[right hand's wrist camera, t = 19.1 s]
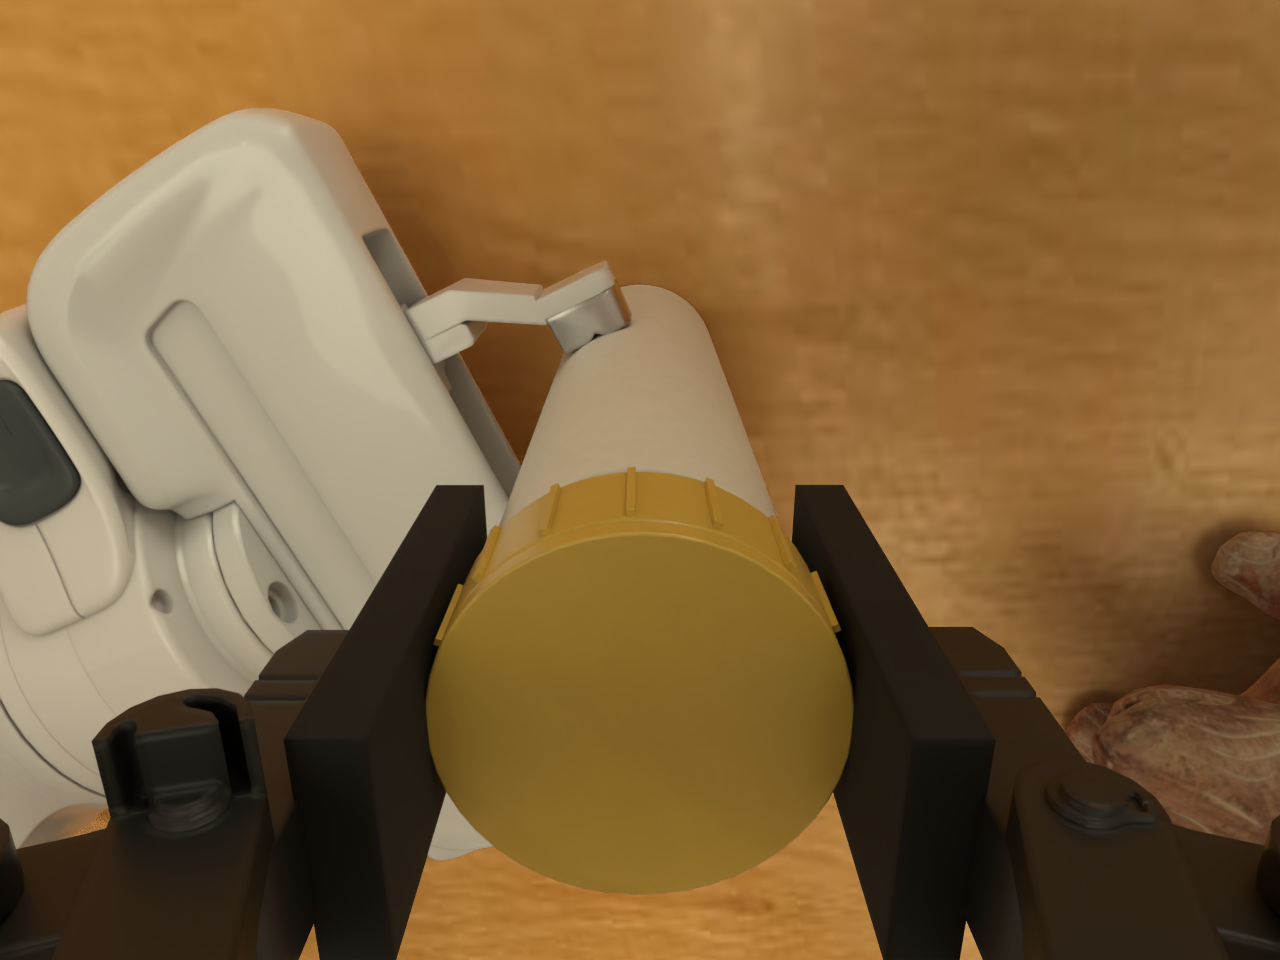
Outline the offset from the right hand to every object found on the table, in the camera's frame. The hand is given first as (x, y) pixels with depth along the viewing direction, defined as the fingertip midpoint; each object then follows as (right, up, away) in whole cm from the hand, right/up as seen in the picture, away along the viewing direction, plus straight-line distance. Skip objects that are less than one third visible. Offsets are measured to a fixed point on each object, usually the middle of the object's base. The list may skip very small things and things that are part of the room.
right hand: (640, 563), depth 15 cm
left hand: (+1, +3, +8) cm, 9 cm away
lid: (0, -1, -4) cm, 4 cm away
